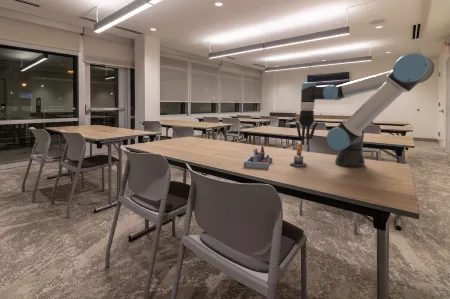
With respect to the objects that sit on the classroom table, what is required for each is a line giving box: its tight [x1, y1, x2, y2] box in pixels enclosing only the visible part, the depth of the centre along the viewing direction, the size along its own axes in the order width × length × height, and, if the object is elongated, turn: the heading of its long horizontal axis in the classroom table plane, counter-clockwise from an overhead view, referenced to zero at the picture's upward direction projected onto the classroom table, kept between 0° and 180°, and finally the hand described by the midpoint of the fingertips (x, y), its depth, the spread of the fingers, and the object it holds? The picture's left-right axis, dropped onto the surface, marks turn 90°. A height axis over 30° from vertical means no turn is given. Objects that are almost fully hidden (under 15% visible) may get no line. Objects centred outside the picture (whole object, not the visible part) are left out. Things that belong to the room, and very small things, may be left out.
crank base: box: [289, 161, 307, 168], centre depth 144 cm, size 9×9×1 cm
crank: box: [293, 142, 304, 164], centre depth 146 cm, size 13×5×10 cm, turn 162°
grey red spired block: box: [251, 145, 271, 164], centre depth 146 cm, size 11×11×12 cm
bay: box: [243, 155, 273, 170], centre depth 145 cm, size 14×16×3 cm
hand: (304, 150), depth 150 cm, fingers closed
